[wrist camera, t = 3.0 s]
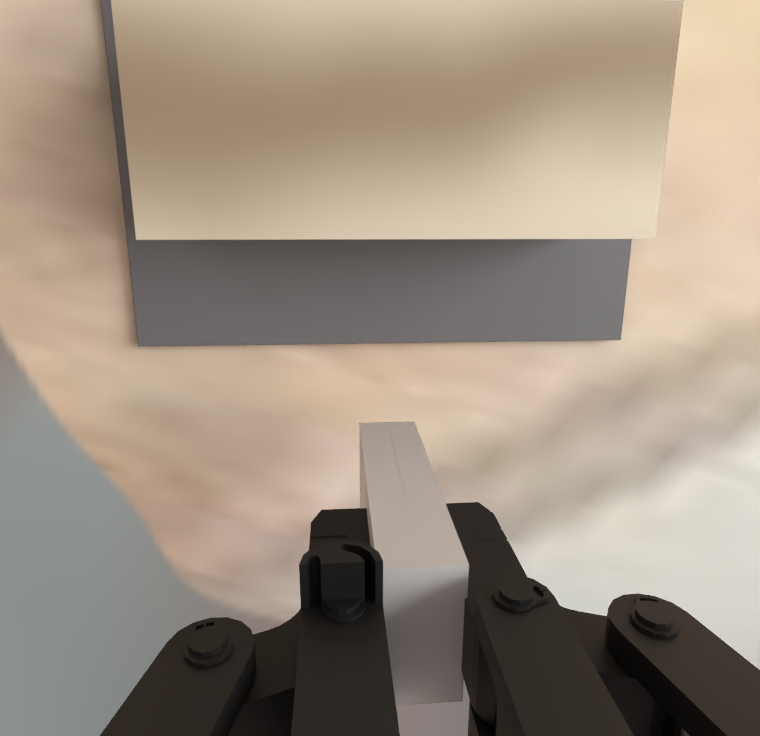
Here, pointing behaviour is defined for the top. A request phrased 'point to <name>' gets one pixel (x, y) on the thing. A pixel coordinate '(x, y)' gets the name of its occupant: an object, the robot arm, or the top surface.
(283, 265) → the mat
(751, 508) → the top surface
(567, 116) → the t block
